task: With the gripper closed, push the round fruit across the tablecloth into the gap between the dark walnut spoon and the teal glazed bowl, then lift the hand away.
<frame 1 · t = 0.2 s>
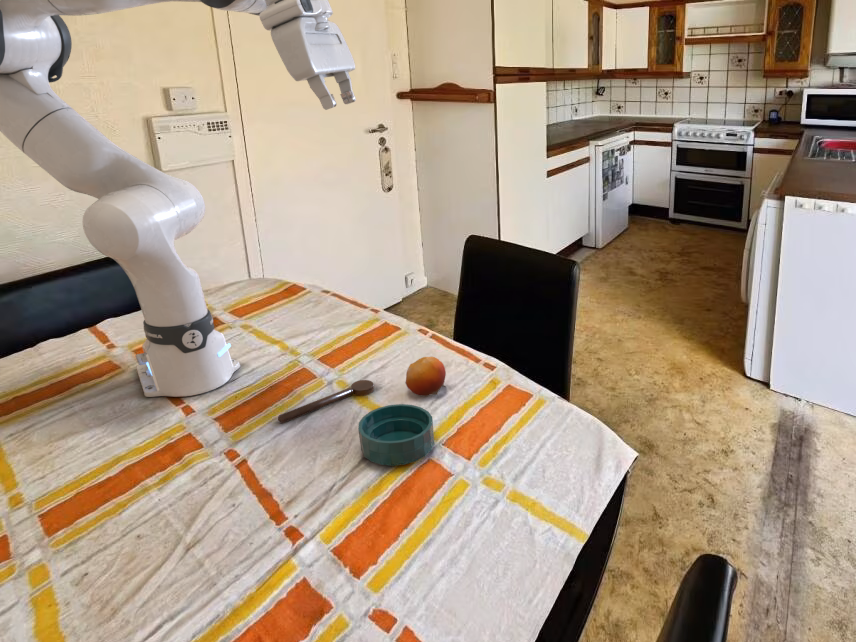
hand: (341, 105, 100), 52 cm above the table, tool tilted 20°, fingers open, 8 cm apart
fruit: (426, 391, 124), on the table
bowl: (398, 447, 106), on the table
spoon: (331, 402, 120), on the table
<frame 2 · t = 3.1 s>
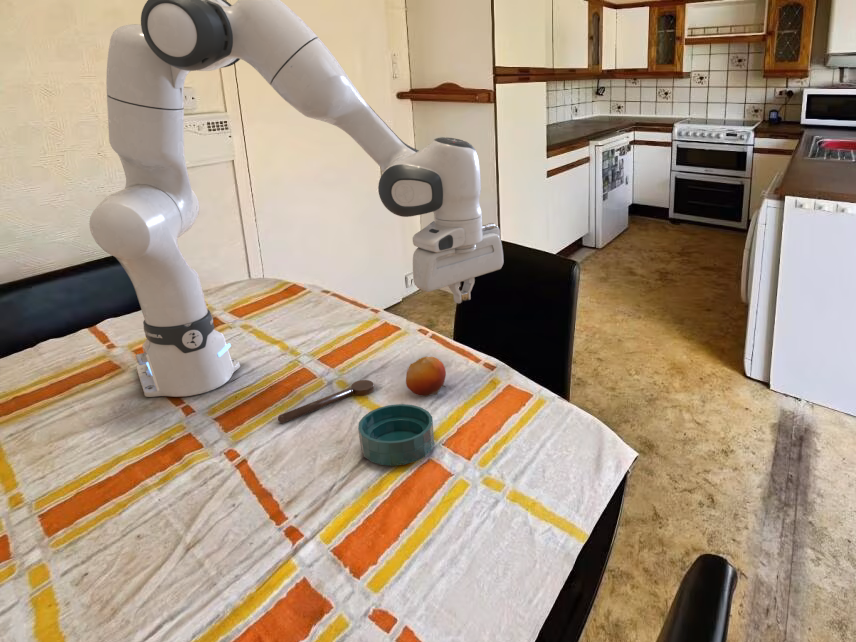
hand: (462, 301, 122), 16 cm above the table, tool pointing down, fingers closed
nothing on the table moved.
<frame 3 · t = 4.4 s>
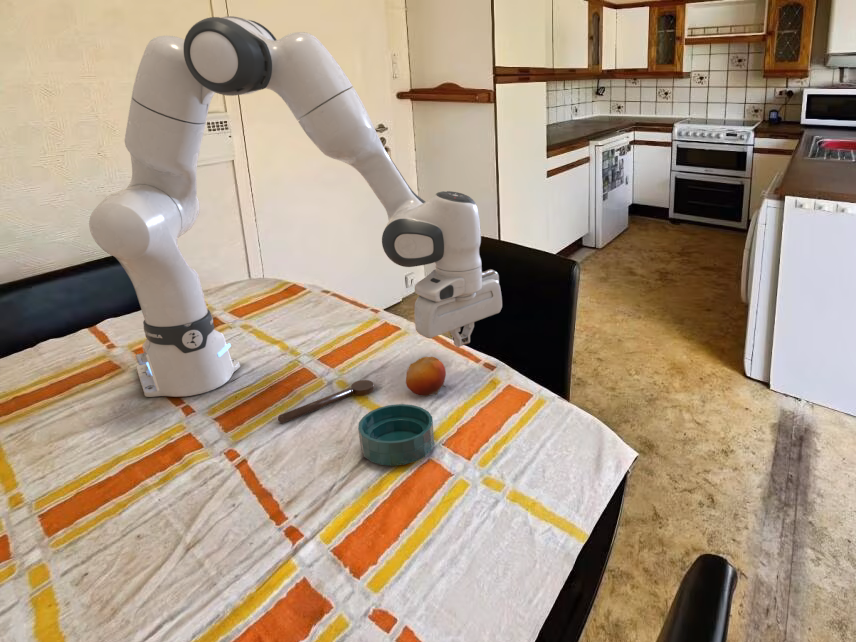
hand: (462, 344, 127), 7 cm above the table, tool pointing down, fingers closed
nothing on the table moved.
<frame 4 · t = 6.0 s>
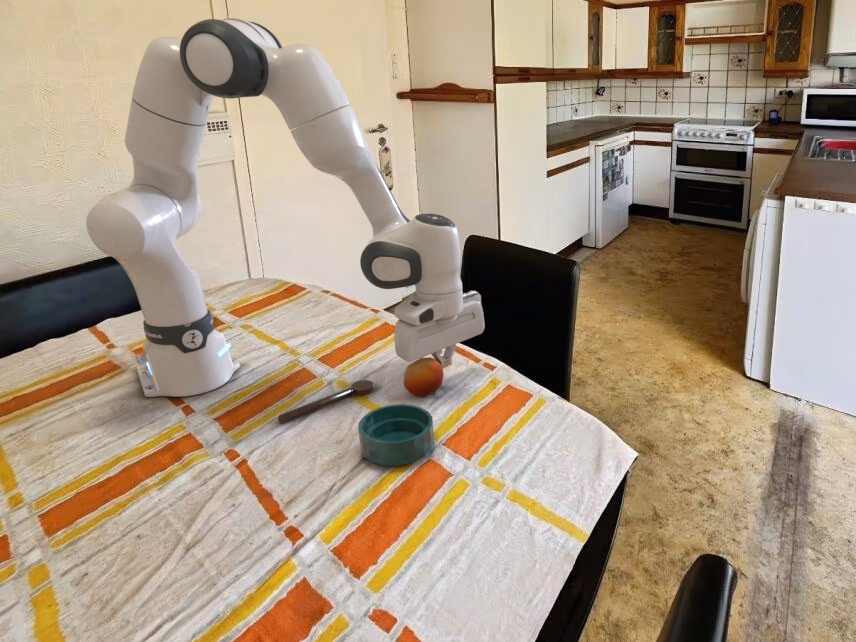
hand: (444, 366, 125), 4 cm above the table, tool pointing down, fingers closed
fruit: (424, 391, 124), on the table, touching gripper
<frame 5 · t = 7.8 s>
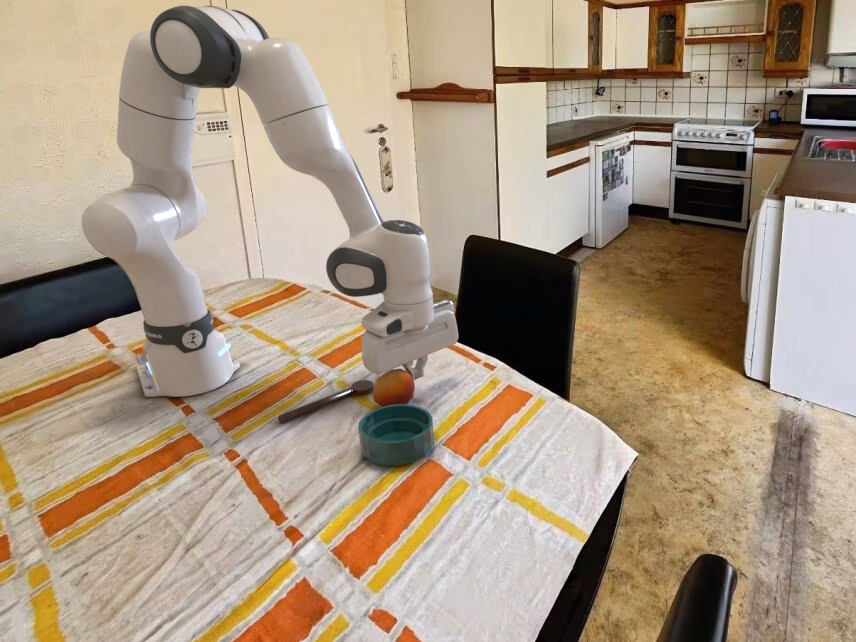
hand: (415, 377, 121), 4 cm above the table, tool pointing down, fingers closed
fruit: (395, 404, 119), on the table, touching gripper
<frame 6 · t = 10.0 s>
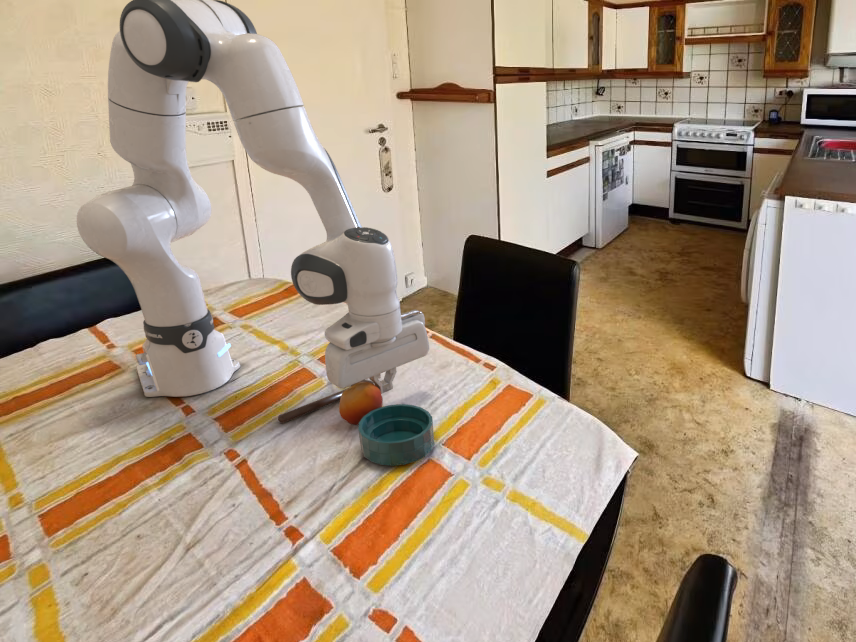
hand: (384, 390, 116), 4 cm above the table, tool pointing down, fingers closed
fruit: (363, 419, 115), on the table, touching gripper
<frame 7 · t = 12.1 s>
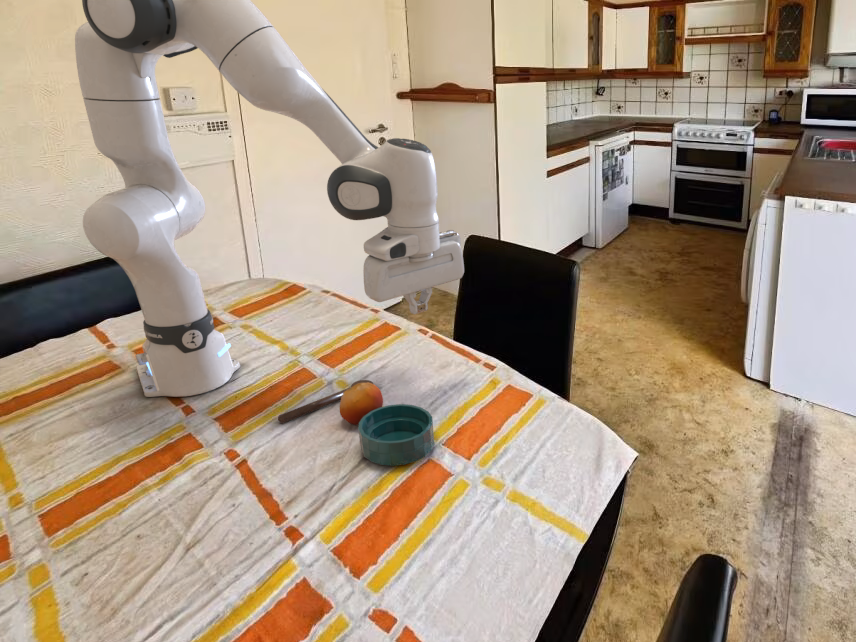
hand: (418, 311, 116), 17 cm above the table, tool pointing down, fingers closed
fruit: (363, 419, 115), on the table
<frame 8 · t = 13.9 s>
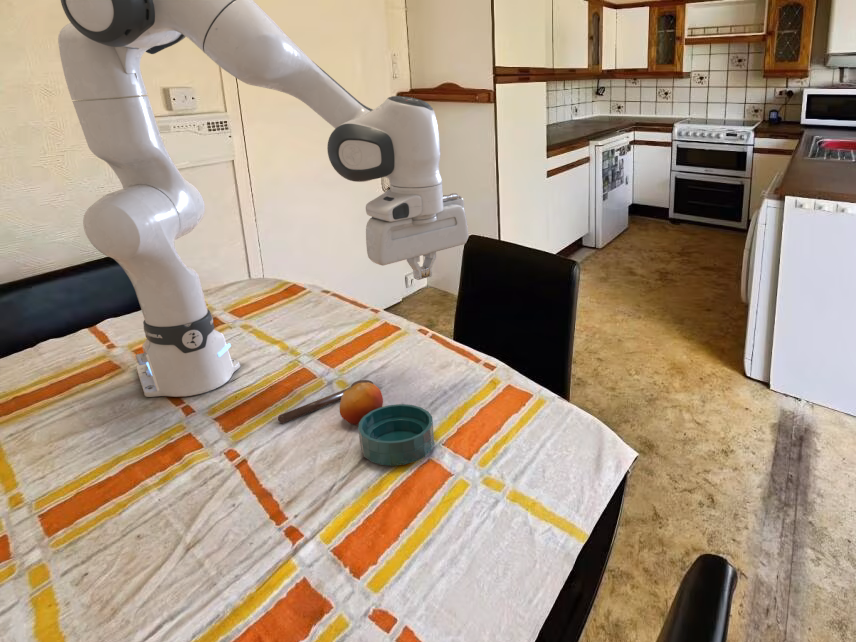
hand: (422, 277, 114), 23 cm above the table, tool pointing down, fingers closed
nothing on the table moved.
at the end: fruit inside the target area (0.7 cm from its centre), on the table; fruit moved 14.9 cm from its start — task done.
